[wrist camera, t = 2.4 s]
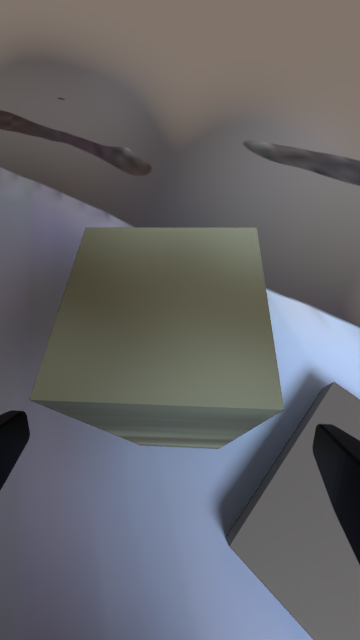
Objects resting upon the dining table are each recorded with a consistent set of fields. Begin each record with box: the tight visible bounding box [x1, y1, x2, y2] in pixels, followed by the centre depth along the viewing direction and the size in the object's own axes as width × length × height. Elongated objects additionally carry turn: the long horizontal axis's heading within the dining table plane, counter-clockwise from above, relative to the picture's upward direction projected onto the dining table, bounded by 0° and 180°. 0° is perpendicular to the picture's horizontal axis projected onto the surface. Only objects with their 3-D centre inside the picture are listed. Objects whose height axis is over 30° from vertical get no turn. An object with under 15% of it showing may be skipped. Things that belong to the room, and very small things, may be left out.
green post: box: [29, 228, 284, 449], centre depth 12 cm, size 5×5×13 cm
